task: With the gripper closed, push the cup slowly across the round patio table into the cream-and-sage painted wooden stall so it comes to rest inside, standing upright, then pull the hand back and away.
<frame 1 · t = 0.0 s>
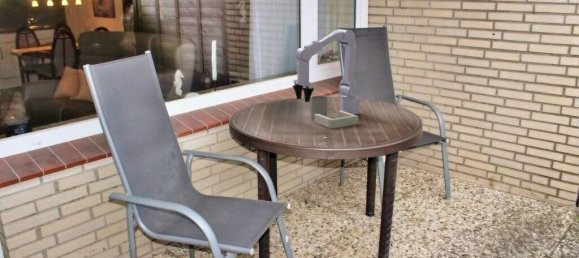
hand: (303, 100, 239), 10 cm above the table, tool pointing down, fingers open, 7 cm apart
stall: (334, 122, 237), on the table
cup: (318, 117, 249), on the table
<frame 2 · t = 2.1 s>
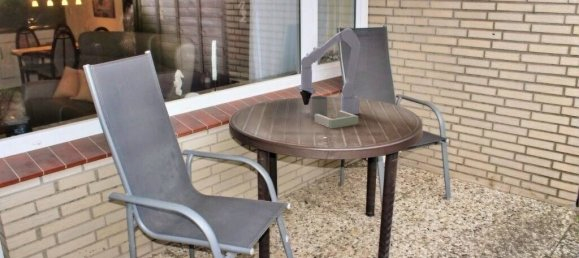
hand: (306, 104, 258), 4 cm above the table, tool pointing down, fingers closed
nothing on the table moved.
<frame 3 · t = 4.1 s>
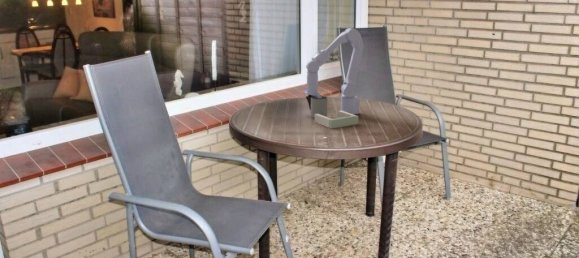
hand: (311, 109, 253), 2 cm above the table, tool pointing down, fingers closed
cup: (318, 116, 249), on the table, touching gripper
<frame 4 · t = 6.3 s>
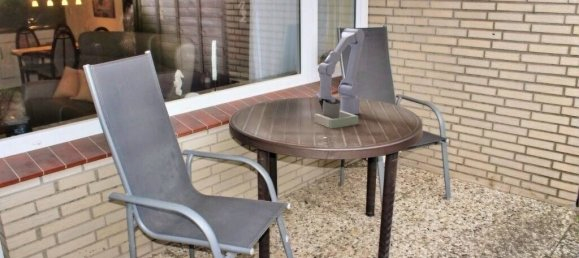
hand: (324, 113, 243), 3 cm above the table, tool pointing down, fingers closed, pressing on cup
cup: (329, 120, 240), resting in stall, touching gripper
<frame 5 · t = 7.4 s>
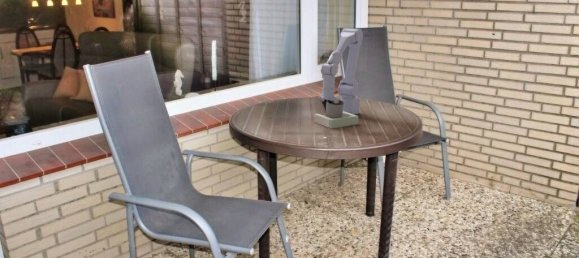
hand: (327, 115, 241), 3 cm above the table, tool pointing down, fingers closed, pressing on cup
cup: (333, 121, 238), resting in stall, touching gripper
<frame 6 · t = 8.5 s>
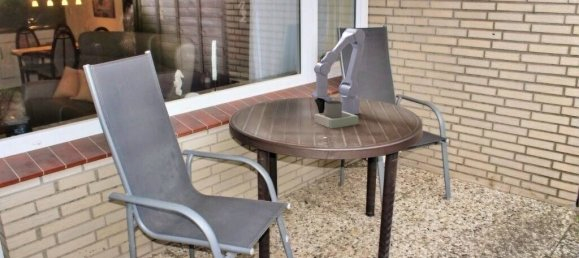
hand: (321, 112, 246), 2 cm above the table, tool pointing down, fingers closed
cup: (332, 122, 238), resting in stall
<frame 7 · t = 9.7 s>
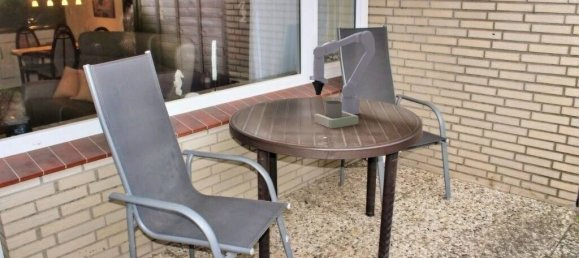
hand: (318, 95, 255), 9 cm above the table, tool pointing down, fingers closed
nothing on the table moved.
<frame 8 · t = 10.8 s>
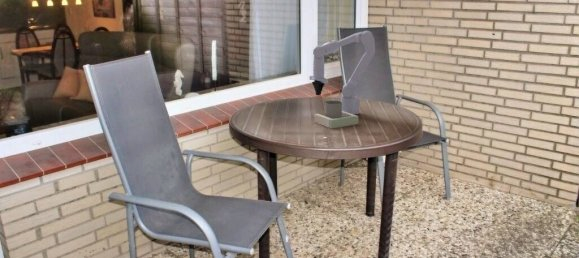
hand: (318, 95, 255), 9 cm above the table, tool pointing down, fingers closed
nothing on the table moved.
at the end: cup 2.4 cm from the target spot on the stall, point 0.0 cm above the stall's base; cup tilted 0°; the gripper is holding nothing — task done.
